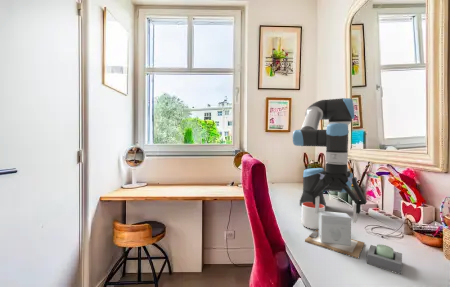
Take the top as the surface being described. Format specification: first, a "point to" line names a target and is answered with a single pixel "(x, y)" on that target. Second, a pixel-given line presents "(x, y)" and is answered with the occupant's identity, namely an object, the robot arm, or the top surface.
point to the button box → (385, 260)
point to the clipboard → (337, 245)
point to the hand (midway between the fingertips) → (335, 216)
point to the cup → (310, 215)
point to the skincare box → (335, 228)
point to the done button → (385, 251)
